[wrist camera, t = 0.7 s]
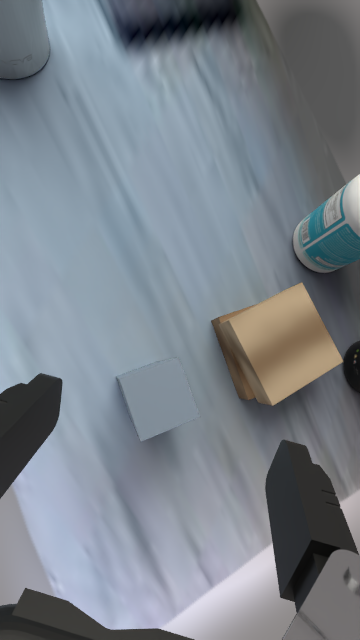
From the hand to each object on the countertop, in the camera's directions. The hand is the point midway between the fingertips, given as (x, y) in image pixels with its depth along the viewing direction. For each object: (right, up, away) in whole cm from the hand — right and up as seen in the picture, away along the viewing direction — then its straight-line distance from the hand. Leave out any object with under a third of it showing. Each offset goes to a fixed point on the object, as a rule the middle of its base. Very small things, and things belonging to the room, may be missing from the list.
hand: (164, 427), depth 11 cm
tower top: (+10, +1, +23) cm, 25 cm away
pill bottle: (+18, +13, +29) cm, 37 cm away
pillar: (-3, -3, +22) cm, 22 cm away
